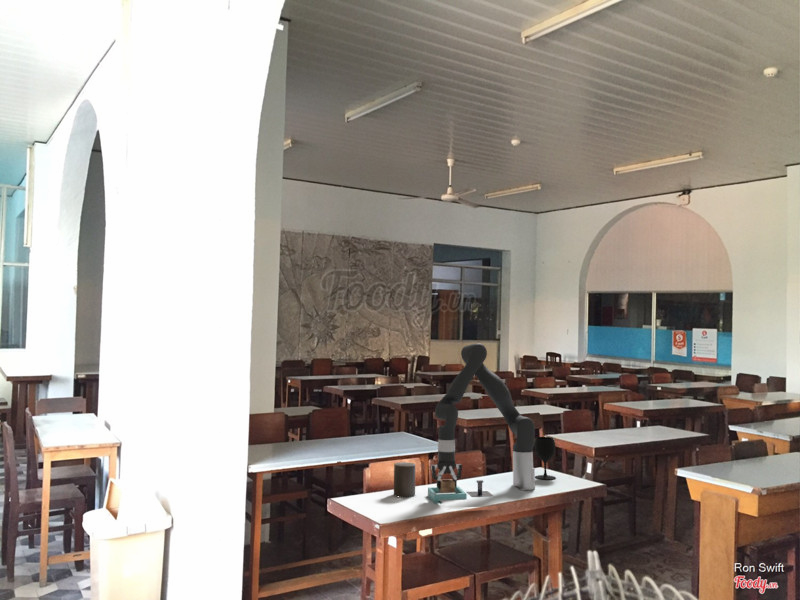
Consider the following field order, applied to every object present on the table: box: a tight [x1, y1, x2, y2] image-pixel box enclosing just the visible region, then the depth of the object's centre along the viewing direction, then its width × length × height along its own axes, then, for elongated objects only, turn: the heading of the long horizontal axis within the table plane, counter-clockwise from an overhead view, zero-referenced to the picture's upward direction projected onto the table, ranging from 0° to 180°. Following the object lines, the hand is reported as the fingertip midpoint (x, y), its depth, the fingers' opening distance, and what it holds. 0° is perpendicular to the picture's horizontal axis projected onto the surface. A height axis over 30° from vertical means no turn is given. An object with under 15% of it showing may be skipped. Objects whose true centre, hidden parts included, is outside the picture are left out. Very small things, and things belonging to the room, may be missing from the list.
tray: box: [427, 486, 468, 504], centre depth 279 cm, size 14×14×4 cm
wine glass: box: [533, 436, 557, 481], centre depth 322 cm, size 10×10×20 cm
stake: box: [466, 479, 494, 498], centre depth 281 cm, size 10×10×7 cm
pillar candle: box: [393, 461, 417, 498], centre depth 286 cm, size 10×10×15 cm
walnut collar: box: [439, 478, 456, 494], centre depth 279 cm, size 6×6×4 cm
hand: (446, 488), depth 279 cm, fingers closed on walnut collar, 6 cm apart
